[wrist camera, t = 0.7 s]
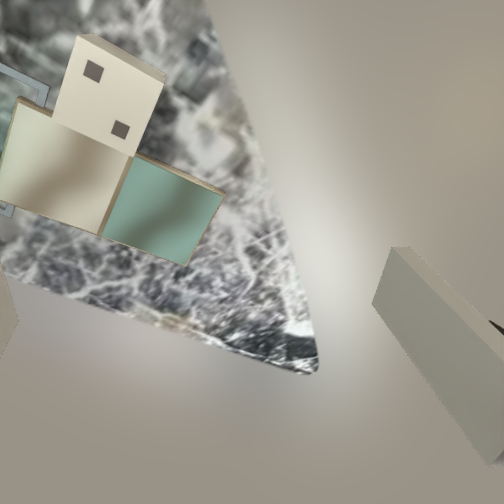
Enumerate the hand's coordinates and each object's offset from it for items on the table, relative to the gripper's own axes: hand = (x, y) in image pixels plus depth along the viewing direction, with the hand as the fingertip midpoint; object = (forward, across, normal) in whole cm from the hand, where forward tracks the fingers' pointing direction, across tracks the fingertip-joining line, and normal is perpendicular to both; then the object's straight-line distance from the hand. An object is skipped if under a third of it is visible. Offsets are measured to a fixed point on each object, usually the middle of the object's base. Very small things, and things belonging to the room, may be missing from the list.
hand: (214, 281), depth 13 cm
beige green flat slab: (+19, -6, -5) cm, 20 cm away
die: (+19, -5, +3) cm, 20 cm away
